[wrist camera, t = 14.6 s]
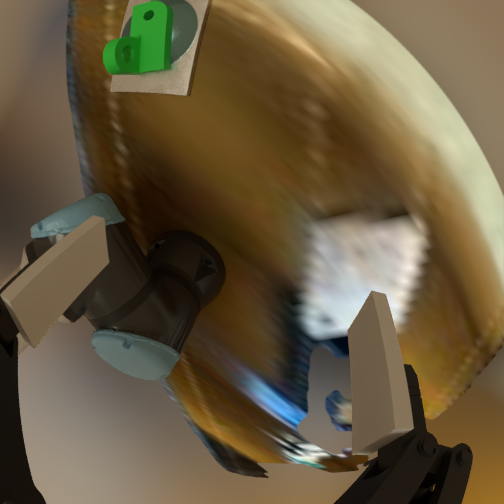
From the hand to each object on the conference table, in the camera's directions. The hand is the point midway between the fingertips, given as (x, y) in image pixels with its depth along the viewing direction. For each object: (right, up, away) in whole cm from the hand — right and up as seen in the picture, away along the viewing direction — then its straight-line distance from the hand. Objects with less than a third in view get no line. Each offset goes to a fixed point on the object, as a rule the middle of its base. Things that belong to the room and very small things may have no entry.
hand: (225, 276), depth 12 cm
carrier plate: (-12, +33, +16) cm, 39 cm away
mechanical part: (-13, +32, +16) cm, 38 cm away
